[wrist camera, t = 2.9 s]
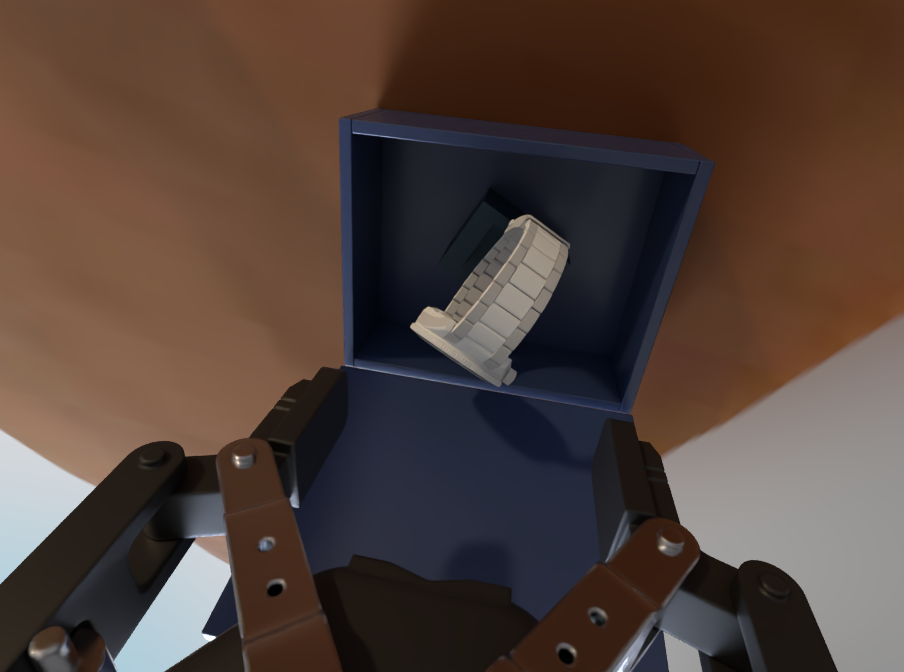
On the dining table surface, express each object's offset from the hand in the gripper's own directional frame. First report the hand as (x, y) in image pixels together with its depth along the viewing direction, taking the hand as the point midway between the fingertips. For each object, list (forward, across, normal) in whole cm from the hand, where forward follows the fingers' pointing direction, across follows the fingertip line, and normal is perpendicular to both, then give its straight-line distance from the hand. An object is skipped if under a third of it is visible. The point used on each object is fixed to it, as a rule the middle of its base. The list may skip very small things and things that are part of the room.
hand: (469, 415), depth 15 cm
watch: (+16, 0, 0) cm, 16 cm away
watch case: (+16, 0, 0) cm, 16 cm away
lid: (+3, 0, +7) cm, 8 cm away
